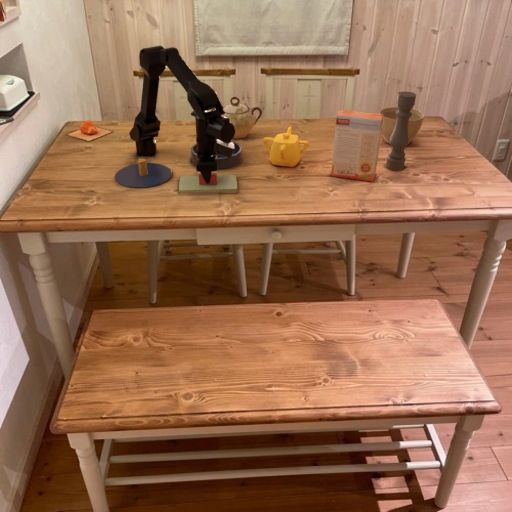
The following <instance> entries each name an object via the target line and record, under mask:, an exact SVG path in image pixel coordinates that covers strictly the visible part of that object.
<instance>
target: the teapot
mask: <svg viewBox="0 0 512 512" xmlns="http://www.w3.org/2000/svg"><path fill="white" fill-rule="evenodd" d="M269 142H272V143H271V146H270V144H269ZM262 143H263V145H264V147H265V148H266V149H267V151H269V160H270V163H271V164H272V165H274V166H282V167H290V168H293V167H295V166H296V165H297V164H298V163H299V162H300V160H301V158H302V154H303V153H305V152H306V150H308V148H309V147H310V141H308V140H300V139H299V136H298V135H297V134H292V126H291V125H289V126H288V127H287V131H286V132H284V133H278V134H277V135H275V136H274V138H273V137H264V138H263V139H262ZM301 144H304V146H303V148H302V146H301Z"/></svg>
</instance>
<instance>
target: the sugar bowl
mask: <svg viewBox="0 0 512 512" xmlns="http://www.w3.org/2000/svg"><path fill="white" fill-rule="evenodd" d="M233 100H236V102H234V103H233ZM213 110H216V109H215V108H214V109H211V110H210V111H213ZM223 110H224V112H225V114H224V115H221V116H222V117H227V118H229V119H230V123H232V124H233V125H234V128H235V135H234V137H233V139H244V138H246V137H247V136H248V135H249V133H250V132H251V131H252V129H253V128H254V127H255V126H256V124H257V122H258V121H259V120H260V119H261V118H262V114H263V111H262V109H261V107H259V106H255V107H252V108H250V107H249V106H248V105H245V104H241V100H240V98H239V97H237V96H232V97H231V98H230V104H228V105H226V106H223ZM255 111H258V113H259V114H258V116H256V114H255Z"/></svg>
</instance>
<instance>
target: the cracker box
mask: <svg viewBox="0 0 512 512" xmlns="http://www.w3.org/2000/svg"><path fill="white" fill-rule="evenodd" d="M383 117H384V115H383V114H379V113H374V112H362V111H354V110H344V109H340V110H339V111H338V113H337V114H336V119H335V127H334V139H333V150H332V160H331V161H332V162H331V171H330V172H331V173H330V176H331V177H335V178H344V179H351V180H358V181H364V182H371V183H372V182H374V180H375V177H376V174H377V166H378V159H379V153H380V145H381V137H382V124H383Z"/></svg>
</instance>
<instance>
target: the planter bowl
mask: <svg viewBox="0 0 512 512" xmlns="http://www.w3.org/2000/svg"><path fill="white" fill-rule="evenodd" d="M396 111H398V107H397V106H390V107H385V108H382V109H381V110H380V111H379V113H378V114H383V115H384V117H383V124H382V132H381V135H382V136H383V138H384V142H385V143H387V144H389V145H390V138H391V135H392V133H393V131H394V128H395V126H396V121H397V115H396ZM410 112H411V113H412V116H411V117H410V118H409V122H408V140H409V142H408V145H409V144H411V141H412V140H413V139H414V138H415V137H416V136H417V135H418V133H419V131H420V129H421V127H422V125H423V120H424V119H425V114H424V113H423V111H420V110H418V109H415V108H412V109H411V111H410Z"/></svg>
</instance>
